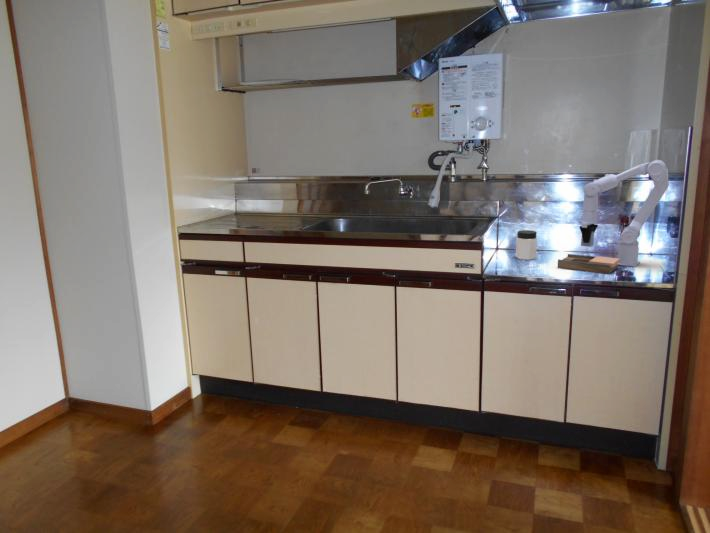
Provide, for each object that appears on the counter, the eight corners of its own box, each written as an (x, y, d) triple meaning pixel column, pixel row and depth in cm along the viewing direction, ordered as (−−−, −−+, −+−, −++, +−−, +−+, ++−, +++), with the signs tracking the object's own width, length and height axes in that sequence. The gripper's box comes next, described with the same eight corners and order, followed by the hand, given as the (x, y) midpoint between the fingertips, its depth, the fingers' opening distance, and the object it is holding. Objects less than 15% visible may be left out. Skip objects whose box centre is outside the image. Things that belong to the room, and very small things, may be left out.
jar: (525, 255, 255) (526, 229, 252) (539, 258, 248) (541, 231, 245) (511, 257, 250) (513, 231, 247) (526, 260, 243) (527, 234, 241)
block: (583, 244, 242) (584, 230, 241) (593, 245, 240) (594, 231, 238) (580, 245, 239) (581, 232, 238) (590, 246, 237) (591, 232, 235)
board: (567, 261, 240) (568, 253, 239) (617, 267, 228) (618, 259, 227) (557, 268, 229) (558, 259, 228) (608, 274, 217) (609, 265, 216)
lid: (596, 259, 231) (596, 256, 231) (619, 262, 226) (619, 258, 225) (589, 264, 222) (589, 261, 222) (613, 267, 217) (613, 263, 217)
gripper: (585, 208, 244) (582, 238, 247) (575, 212, 233) (573, 243, 236) (601, 209, 240) (599, 239, 243) (592, 213, 228) (590, 245, 231)
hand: (587, 241), depth 239 cm, fingers closed on block, 4 cm apart
